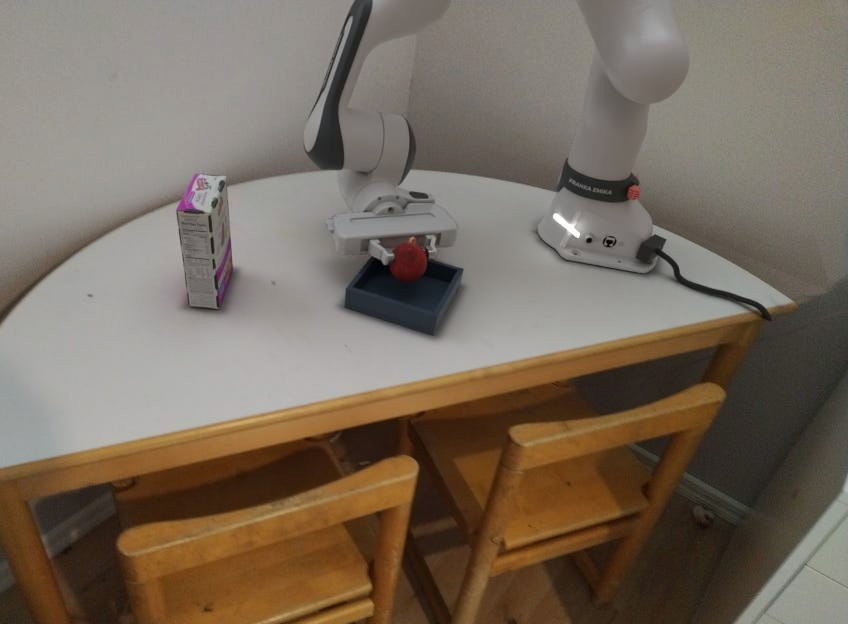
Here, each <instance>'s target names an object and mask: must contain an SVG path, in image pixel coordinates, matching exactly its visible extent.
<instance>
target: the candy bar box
mask: <svg viewBox="0 0 848 624" xmlns="http://www.w3.org/2000/svg"><path fill="white" fill-rule="evenodd" d="M227 180H228V179H227V176H226V175H216V174H215V175H214V174H208V173H207V174H205V173H194V174H193V176H192V178H191V180H190V182H189V184H188V186H187V187H186V190H185V191H184V194H183V196H182V197H181V199H180V201H179V203H178V205H177V207H176V209H175V213H176V221H177V227H178V236H179V244H180V250H181V251H180V252H181V256H182V265H183V271H184V279H185V288H186V289H185V290H186V295H187V303H188V307H191V308H196V309H209V310H210V309H211V310H220V309H221V306H222V302H223V300H224V297H225V294H226V292H227V288H228V285H229V282H230V280H231V277H232V273H233V271H234V266H233V265H234V264H233V250H232V237H231V236H232V235H231V225H230V224H231V222H230V209H229V196H228V195H229V194H228V182H227Z"/></svg>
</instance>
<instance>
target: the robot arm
mask: <svg viewBox="0 0 848 624" xmlns="http://www.w3.org/2000/svg"><path fill="white" fill-rule="evenodd" d="M451 2H452V0H353V3H352V4H351V7H350V8H349V9H348V13H347V14H346V18H345V20H344V22H343V25H342V27H341V30H340V32H339V36H338V39H337V42H336V44H335V48H334V49H333V53H332V55H331V58H330V62H329V65H328V68H327V71H326V74H325V76H324V80H323V82H322V85H321V87H320V91H319V94H318V96H317V98H316V101H315V103H314V105H313V107H312V109H311V111H310V113H309V116H308V118H307V121H306V124H305V126H304V127H305V128H304V132H303V150H304V152H305V154H306V156H307V157H308V159H309V160H310V162H312V163H313V164H314V165H315V166H316V167H317V168H318V169H320V171H336V179H337V185H338V189H339V192H340V195H341V198H342V200H343V201H344V203H345V205H346V207H347V208H348V209H349V211H350V212H349V213H348V212H347V213H340V214H337V215H332V216H331V218H328V219H326V220H325V222H324V223H325V224H324V225H325V227H326V229H327V231H328V232H329V233H331V234H332V239H333V245H334V248H335V250H336V253H337V254H339V255H340V256H343V257H351V256H360V255H361V256H363V255H364V256H365V255H370V257H371V256H373V257H375V258H377V259H379V260H381V261H382V263H383V264H384V265H390V264H394V261H393V260H394V258H395V256H394V253H392V252H393V250H394V249H395V248H396V247H397V246H399V245H400V244H402V243H405V242H407V241H408V240H409V238H411V237H414V238H415V239H417V240H416V243H417V244H418V245H420V246H421V247H422V248H423V250H424V252H425V254H426V257H427V261H430V260H435V261H437V258H438V249H440V248H441V249H442V248H452V247H454V246H455V244H456V242H457V240H458V235H459V224H458V223H457V221H456V220H455V218H454V217H453V216H452V215H451V214H450V213H449V212H448V210H447V209H446V208H444V207H443V206H442V205H440V204H438V203H436V198H435V196H434V195H433V194H432V193H428V192H419V191H413V190H408V189H406V188H402V187H400V186H401V184H403V182H404V181H405V179H406V178H407V176H408V174H409V173H410V171H411V170H412V167H413V164H414V162H415V159H416V153H417V141H416V136H415V133H414V130H413V128H412V126H411V124H410V122H409V120H408V119H406V117H405V116H403V115H401V114H394V113H389V112H384V111H383V112H382V111H372V110H366V109H359V108H352V107H349V104H350V101H351V98H352V97H353V96H352V95H353V92H354V90H355V88H356V87H355V86H356V84H357V82H358V78H359V76H360V74H361V70H362V68H363V66H364V63H365V60H366V59H367V57H368V56H369V54H370V53H371V52H372V51H373V50H374V49H376V48H377V47H379V46H380V45H382V44H385V43H387V42H390V41H393V40H396V39H401V38H404V37H410V36H413V35H418V34H420V33H422V32H425V31H427V30H429V29H430V28H432V27H433V26H435V25H436V24H437V23H439V22H440V21H441V20H442V18H444V16H445V15H446V14H447V12H448V9H449V8H450V5H451ZM575 2H576V3H577V6H578V8H579V10H580V12H581V14H582V17H583V20H584V21H585V24H586V26H587V28H588V30H589V33H590V34H591V38H592V40H593V43H594V45H595V47H594V51H593V55H592V59H591V63H590V68H589V72H588V78H587V83H586V84H587V85H586V88H585V94H584V99H583V106H582V111H581V115H580V119H579V123H578V126H577V129H576V132H575V135H574V139H573V141H572V145H571V148H570V150H569V151H570V152H569V155H568V157H567V158H566V159H565V161H564V162H563V165H562V167H561V170H560V173H559V176H558V179H557V183H556V192H555V194H554V197H553V199H552V200H551V203H550V205H549V208H548V209H547V212H546V213H545V215H544V217H543V218H542V219H541V221H540V222H539V224H538V225H537V233H538V236H539V237H540V238H541V240H543V242H545V243H546V244H547V245H549V246H550V247H552V248H553V249H554V250H555V251H557V253H558V255H560V256H561V257H562V258H563V259H564V260H567V261H572V262H578V263H582V264H589V265H594V266H600V267H604V268H611V269H617V270H622V271H627V272H633V273H638V274H647V273H649V272H651V271H652V270H653V269H654V268H655V266H656V264H657V261H658V258H659V257H660V258H662V260H664V261H665V262H667V264H669V265H670V266H671V268H672V271H673V276H674V278H675V279H676V280H677V281H678V282H679V283H680V284H682V285H684V286H686V287H688V288H690V289H693V290H697V291H701V292H704V293H707V294H710V295H714V296H720V297H723V298H727V299H729V300H732V301H735V302H738V303H742V304H744V305H748V306H750V307H753V308H755V309H756V310H757V311H759V312H760V313H761V315H762V317H763V319H764V320H766V321H767V322H773V319H772V316H771V314H770V312H769V310H768V309H767V308H766V307H765V306H764V305H763V304H762V303H760V302H758V301H757V300H754V299H751V298H748V297H744V296H742V295H738V294H737V293H733V292H730V291H727V290H722V289H718V288H713V287H711V286H710V287H709V286H706V285H703V284H700V283H697V282H693V281H691V280H689V279H687V278H686V277H684V276H683V275H682V274H681V271H680V266H679V264H678V263H677V261H676V260H675V259H673V257H671V256H670V255H669V254H667V253H666V252H664V251H663V249H664V246H665V244H666V242H667V240H668V239H667V238H665V237H662V236H660V235H658V234H656V233H654V226H653V225H654V224H653V219H652V216H651V215H650V213H649V212H648V211H647V209H645V207H644V206H643V205H642V204H641V202H640V201H639V200H638V199H639V197H641V192H642V191H641V190H642V189H641V187H640V180H639V174H638V173H636V175H635V174H634V173H633V172H632V171H633V169H634V166H635V164H636V161H637V159H638V156H639V153H640V150H641V148H642V145H643V142H644V141H645V138H646V135H647V131H648V122H649V121H648V120H649V112H650V108H651V107H650V106H651V105H654V104H658V103H661V102H663V101H665V100H667V99H669V98H670V97H671V96H672V95H674V94H675V93H676V92H677V91H678V90H679V89H680V88H681V87H682V85H683V83H684V82H685V80H686V78H687V76H688V73H689V69H690V56H689V49H688V46H687V42H686V39H685V36H684V34H683V31H682V29H681V26H680V24H679V21H678V18H677V16H676V13H675V10H674V8H673V6H672V3H671V1H670V0H575Z"/></svg>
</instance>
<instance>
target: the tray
mask: <svg viewBox="0 0 848 624" xmlns="http://www.w3.org/2000/svg"><path fill="white" fill-rule="evenodd" d="M463 275H464V268H462V267H459V266H455V265H451V264H449V263H445V262H442V261H439V260H430V261H427V266H426V270H425V272H424V274H423V275H422V276H421V277H420V278H419V279H417V280H415V281H413V282H410V283H403V282H401V281H399V280H397V279H396V278H395V276H394V275H393V274H392V272H391V270H390V266H389V265H384V264H383V263H382V261H381V260H379V259H377V258H375V257H373V256H371V255H370V257H369V259H367V261H366V262H365V264H364V265H363V266H362V267H361V268H360V270H359V271H358V273H356V275H355V276H354V277H353V279H352V280H350V283H349V284H348V285H347V286H346V287H345V295H344V308H346V309H349V310H353V311H355V312H358V313H361V314H365V315H368V316H371V317H374V318H376V319H381V320H383V321H386V322H390V323H393V324H396V325H399V326H402V327H406V328H409V329H411V330H415V331H418V332H421V333H423V334H428V335H430V336H434V335H435V334H436V331H437V330H438V328H439V326H440V324H441V322H442V320H443V318H444V317H445V315H446V314H447V311H448V309H449V307H450V306H451V304H452V302H453V300H454V298H455V296H456V294H457V293H458V291H459V289H460V287H461V283H462V278H463Z"/></svg>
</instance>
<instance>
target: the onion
mask: <svg viewBox="0 0 848 624" xmlns="http://www.w3.org/2000/svg"><path fill="white" fill-rule="evenodd" d="M416 240H417V239H415V238H414V237H411V238H409V240H408V241H407V242H405V243H402V244H400V245H399V246H397V247H396V248H395V249H394V250H393V252H392V253H394V256H395V258H394V260H393V261H394V264H390V265H389V266H390V270H391V272H392V274H393V275H394V276H395V278H396V279H397V280H399V281H401V282H403V283H410V282H413V281H415V280H417V279H419V278H420V277H421V276H422V275H423V274H424V272H425V270H426V266H427V257H426V254H425V249H423V248H422V247H421V246H420V245H418V244H417V243H416Z"/></svg>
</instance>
